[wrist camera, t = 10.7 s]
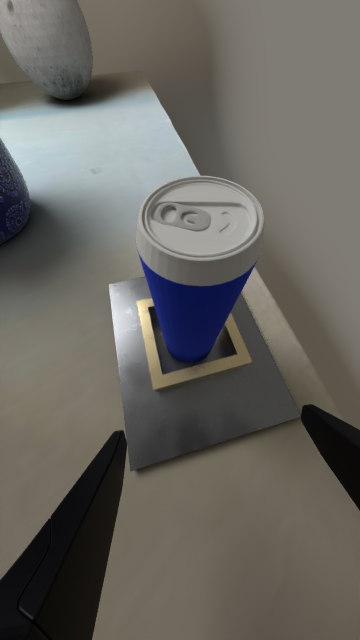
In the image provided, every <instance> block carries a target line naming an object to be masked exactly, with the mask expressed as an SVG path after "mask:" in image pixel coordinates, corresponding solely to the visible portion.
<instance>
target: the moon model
mask: <svg viewBox="0 0 360 640" xmlns="http://www.w3.org/2000/svg"><path fill="white" fill-rule="evenodd" d="M0 32H1V35H2V37H3V39H4V41H5V43H6V45H7V47H8V49H9V51H10V53H11V54H12V56H13V58H14V59H15V61H16V62H17V64H18V65H19V66H20V68H21V69H22V70H23V72H24V73H25V74H26V75H27V76H28V77H29V78H30V79H31V81H32V82H33V83H34V84H36V85H37V86H38V87H39V88H40V89H42V90H43V91H45V92H46V93H48V94H49V95H51V96H53V97H56V98H59V99H64V100H71V99H75V98H77V97H79V96H80V95H81V94H82V93H83V92H84V91H85V90H86V88H87V87H88V84H89V82H90V78H91V74H92V65H93V64H92V63H93V57H92V47H91V41H90V36H89V32H88V28H87V25H86V22H85V19H84V16H83V14H82V11H81V9H80V7H79V4H78V2H77V0H0Z"/></svg>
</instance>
